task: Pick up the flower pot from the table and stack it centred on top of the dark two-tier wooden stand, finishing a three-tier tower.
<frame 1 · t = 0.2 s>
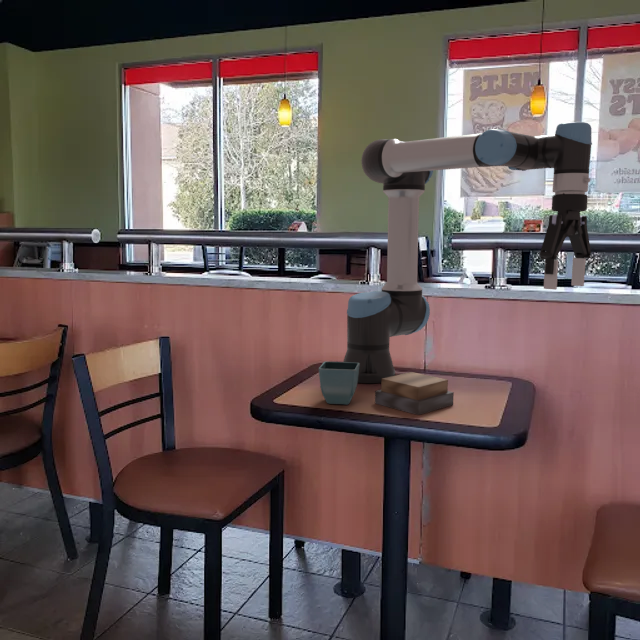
hand: (564, 287, 150), 28 cm above the table, tool pointing down, fingers open, 13 cm apart
flower pot: (339, 402, 154), on the table
tier stand: (414, 404, 153), on the table
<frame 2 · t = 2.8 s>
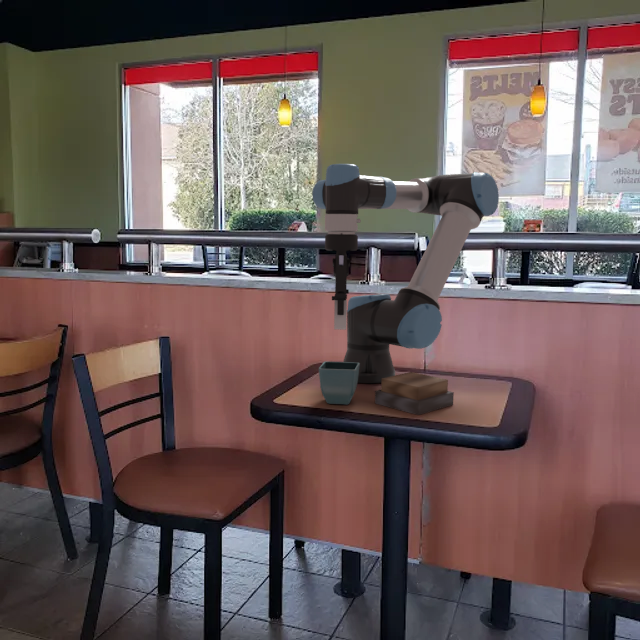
hand: (340, 325, 152), 19 cm above the table, tool pointing down, fingers open, 13 cm apart
nothing on the table moved.
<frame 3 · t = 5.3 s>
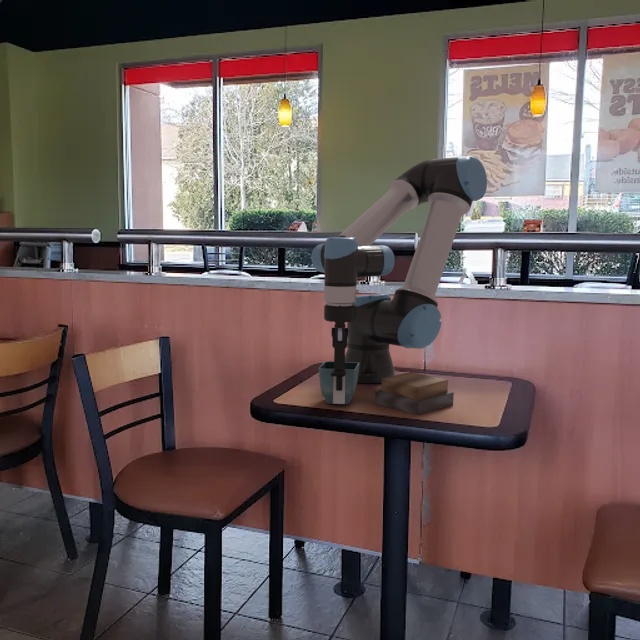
hand: (339, 398, 154), 1 cm above the table, tool pointing down, fingers closed on flower pot, 9 cm apart
flower pot: (339, 402, 154), on the table, touching gripper
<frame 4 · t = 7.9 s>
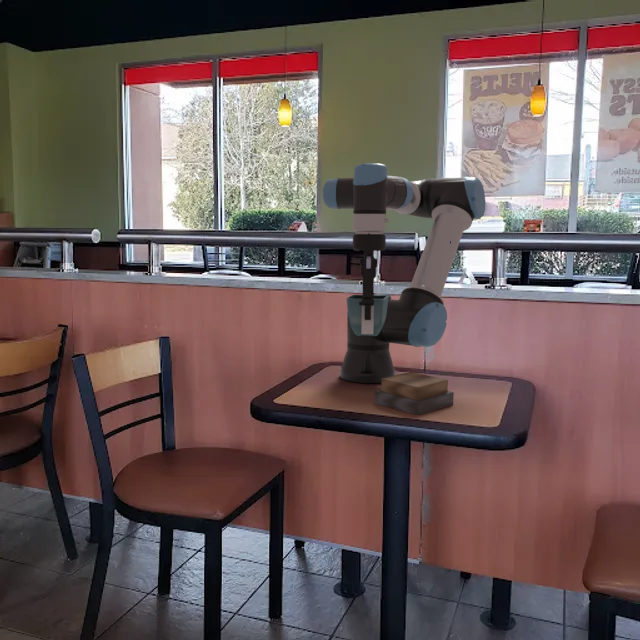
hand: (367, 330, 152), 17 cm above the table, tool pointing down, fingers closed on flower pot, 9 cm apart
flower pot: (367, 335, 152), point 16 cm above the table, touching gripper
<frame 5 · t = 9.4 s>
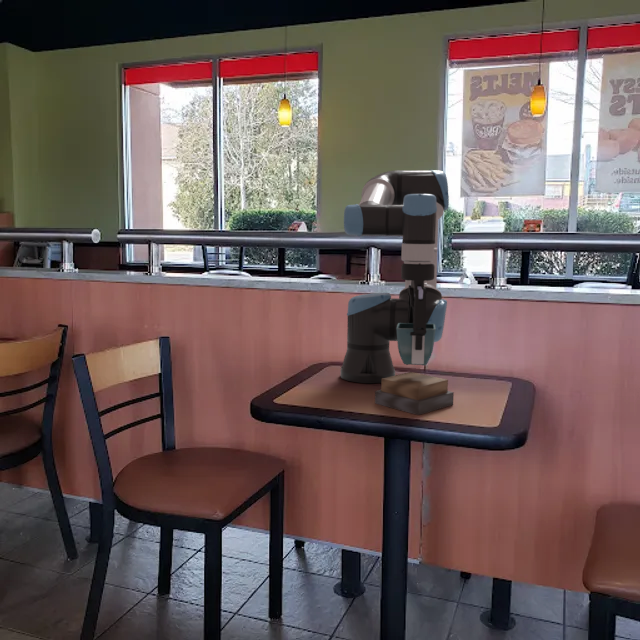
hand: (415, 359, 152), 11 cm above the table, tool pointing down, fingers closed on flower pot, 9 cm apart
flower pot: (415, 364, 152), point 10 cm above the table, touching gripper
when the fingers open (8 cm above the table, at t = 10.7 s): flower pot drops 1 cm, resting on tier stand.
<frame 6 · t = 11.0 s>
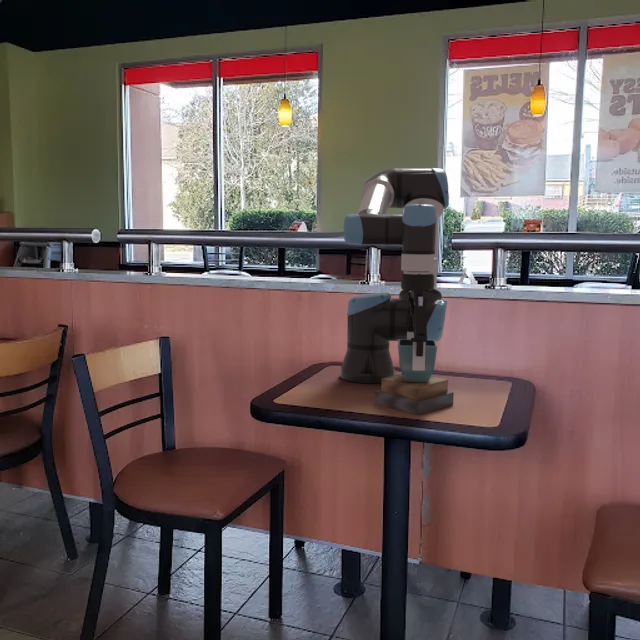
hand: (415, 364, 152), 10 cm above the table, tool pointing down, fingers open, 13 cm apart
flower pot: (416, 381, 151), point 6 cm above the table, touching tier stand
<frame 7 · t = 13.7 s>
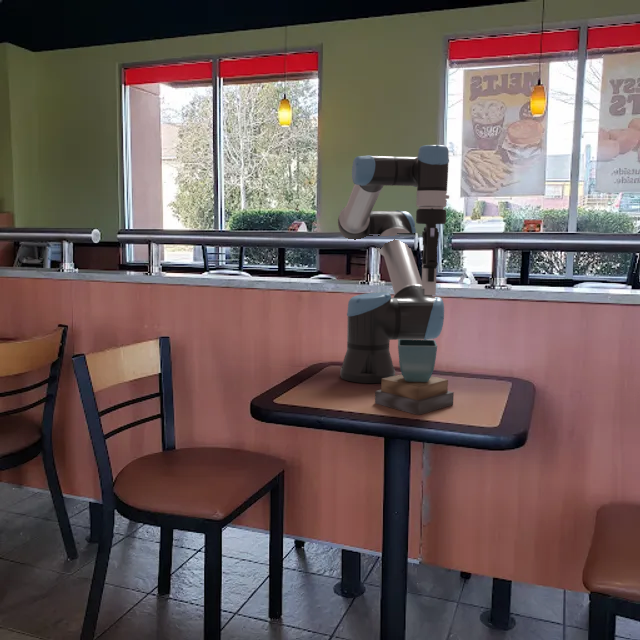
hand: (428, 291, 168), 25 cm above the table, tool pointing down, fingers open, 13 cm apart
nothing on the table moved.
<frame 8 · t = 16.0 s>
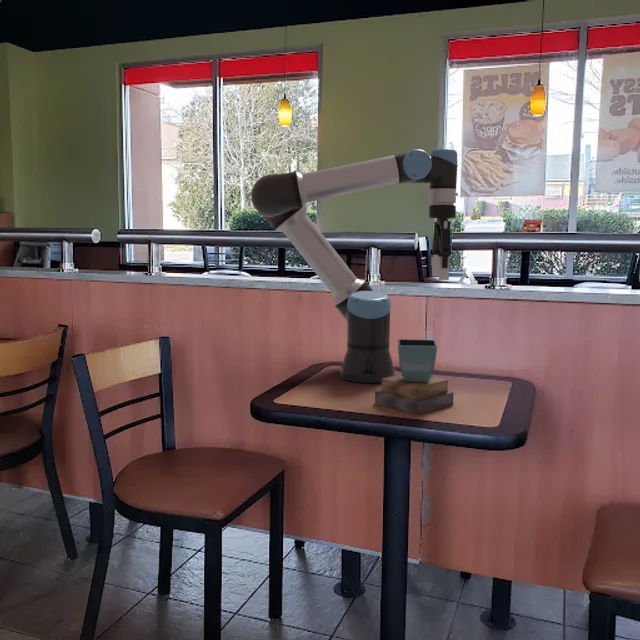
hand: (440, 278, 190), 27 cm above the table, tool pointing down, fingers open, 13 cm apart
nothing on the table moved.
at the end: flower pot 1.1 cm off-centre on the tier stand, point 5.8 cm above the tier stand's base; flower pot tilted 0°; the gripper is holding nothing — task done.
